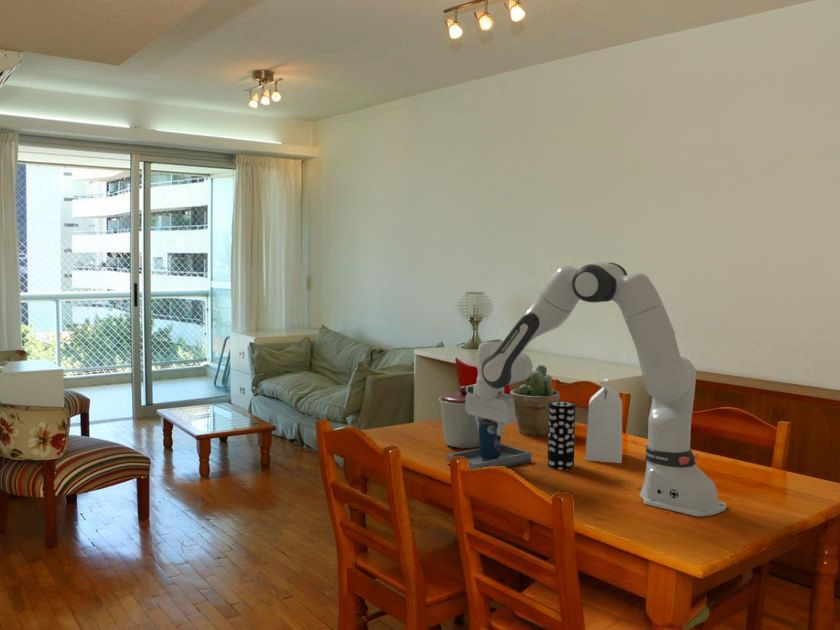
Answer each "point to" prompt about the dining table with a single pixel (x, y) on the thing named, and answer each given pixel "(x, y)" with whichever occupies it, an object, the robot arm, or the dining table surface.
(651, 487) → the robot arm
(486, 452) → the soda can
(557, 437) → the white-spotted black cylinder
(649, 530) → the dining table surface
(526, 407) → the potted plant
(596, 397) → the milk
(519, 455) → the tray
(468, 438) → the canister
